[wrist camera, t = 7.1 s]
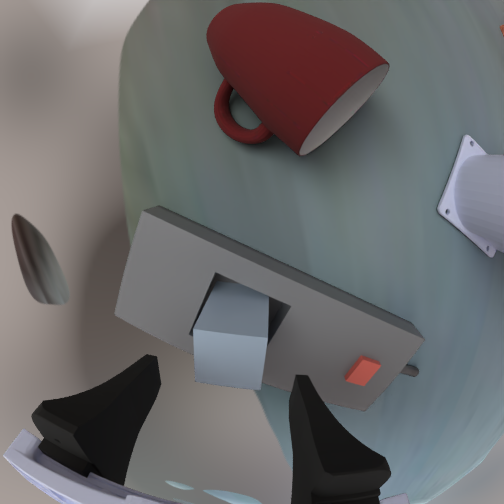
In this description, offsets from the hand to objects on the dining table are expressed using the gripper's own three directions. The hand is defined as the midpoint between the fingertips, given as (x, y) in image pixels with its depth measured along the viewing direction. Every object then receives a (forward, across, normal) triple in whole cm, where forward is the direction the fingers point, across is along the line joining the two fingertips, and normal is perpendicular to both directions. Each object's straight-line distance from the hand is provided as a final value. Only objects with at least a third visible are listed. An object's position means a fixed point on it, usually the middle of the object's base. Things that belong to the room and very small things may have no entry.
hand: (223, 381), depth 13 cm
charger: (+9, 0, 0) cm, 9 cm away
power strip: (+9, -5, +2) cm, 11 cm away
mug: (+7, +3, -20) cm, 21 cm away
